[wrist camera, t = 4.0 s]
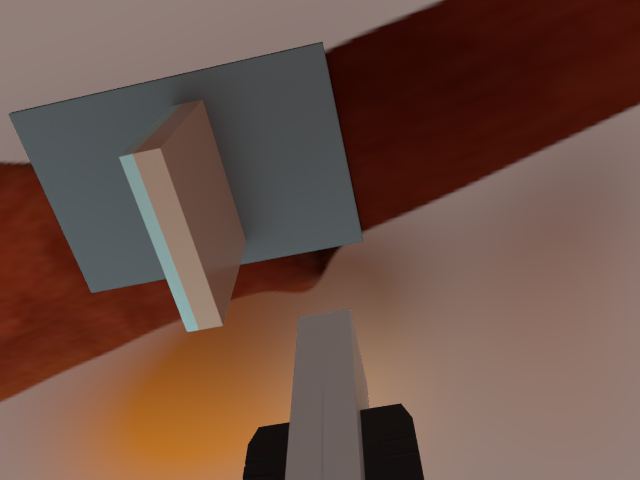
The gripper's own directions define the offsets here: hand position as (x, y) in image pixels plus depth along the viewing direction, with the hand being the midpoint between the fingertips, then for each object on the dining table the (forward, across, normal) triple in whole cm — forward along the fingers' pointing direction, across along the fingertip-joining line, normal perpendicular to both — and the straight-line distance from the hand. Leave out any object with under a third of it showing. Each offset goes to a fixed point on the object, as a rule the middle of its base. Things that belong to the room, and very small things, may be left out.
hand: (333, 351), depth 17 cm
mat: (+19, -8, 0) cm, 20 cm away
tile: (+18, -7, 0) cm, 19 cm away
